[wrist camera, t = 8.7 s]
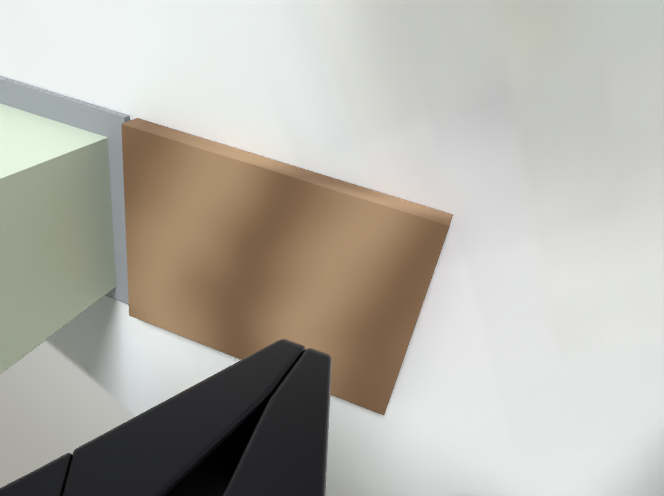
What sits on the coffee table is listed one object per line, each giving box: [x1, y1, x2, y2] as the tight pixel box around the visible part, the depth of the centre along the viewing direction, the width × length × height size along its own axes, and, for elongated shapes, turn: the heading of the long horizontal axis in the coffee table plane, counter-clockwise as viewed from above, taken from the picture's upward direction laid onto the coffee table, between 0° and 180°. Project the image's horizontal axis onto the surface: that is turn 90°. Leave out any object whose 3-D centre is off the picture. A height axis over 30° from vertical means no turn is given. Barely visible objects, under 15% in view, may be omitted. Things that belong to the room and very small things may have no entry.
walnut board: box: [121, 118, 453, 415], centre depth 22 cm, size 14×10×1 cm
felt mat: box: [0, 76, 129, 304], centre depth 24 cm, size 10×10×1 cm
